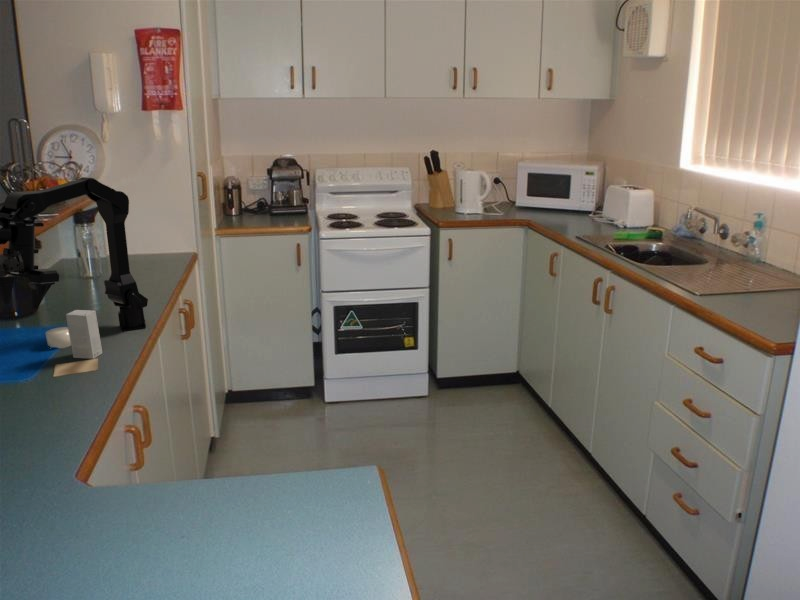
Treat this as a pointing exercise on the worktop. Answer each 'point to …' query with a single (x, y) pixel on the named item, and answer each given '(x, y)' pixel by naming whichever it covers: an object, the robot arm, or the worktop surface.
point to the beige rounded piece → (58, 337)
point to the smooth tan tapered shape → (76, 367)
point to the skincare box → (84, 334)
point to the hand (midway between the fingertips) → (20, 306)
